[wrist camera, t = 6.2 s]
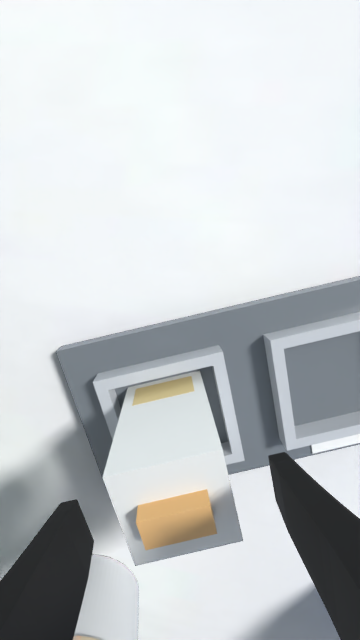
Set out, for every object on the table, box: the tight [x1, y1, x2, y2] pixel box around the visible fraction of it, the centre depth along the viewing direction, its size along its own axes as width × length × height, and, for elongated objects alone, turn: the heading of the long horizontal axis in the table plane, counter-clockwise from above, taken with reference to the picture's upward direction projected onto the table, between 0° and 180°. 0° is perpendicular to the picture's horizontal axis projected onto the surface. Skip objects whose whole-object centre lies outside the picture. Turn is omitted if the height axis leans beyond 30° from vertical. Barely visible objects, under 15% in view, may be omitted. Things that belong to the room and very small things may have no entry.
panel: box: [56, 276, 360, 500], centre depth 15 cm, size 10×19×2 cm, turn 103°
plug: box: [102, 371, 243, 566], centre depth 12 cm, size 4×4×7 cm
